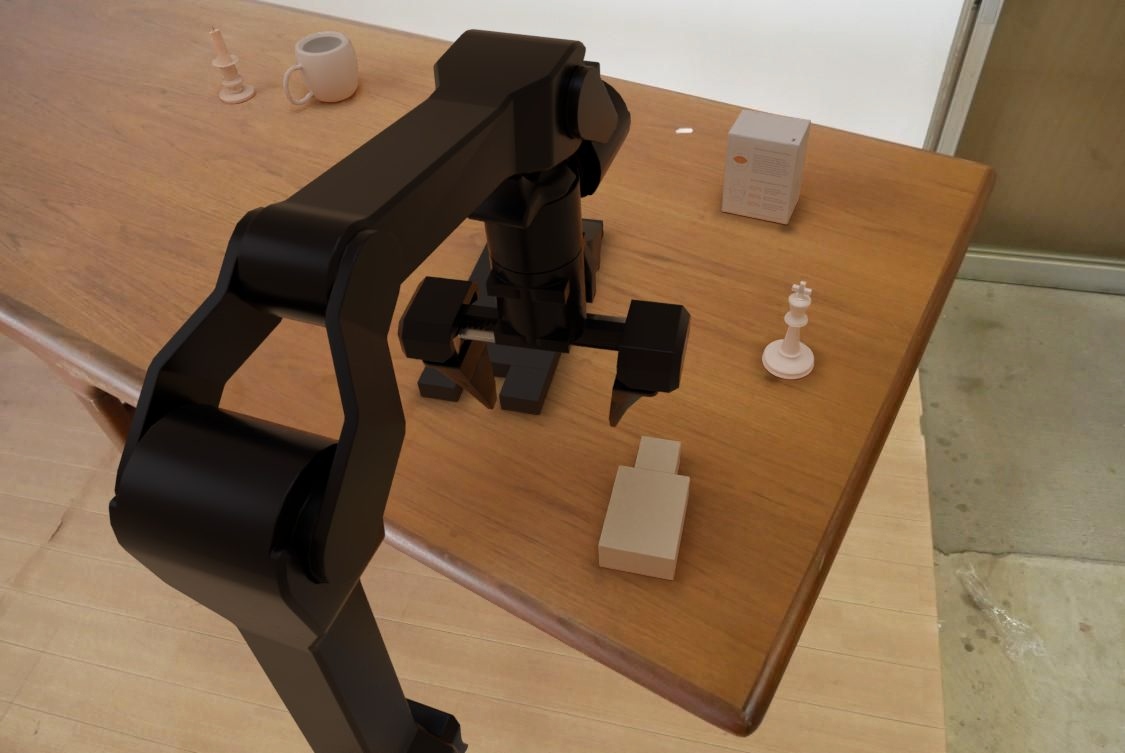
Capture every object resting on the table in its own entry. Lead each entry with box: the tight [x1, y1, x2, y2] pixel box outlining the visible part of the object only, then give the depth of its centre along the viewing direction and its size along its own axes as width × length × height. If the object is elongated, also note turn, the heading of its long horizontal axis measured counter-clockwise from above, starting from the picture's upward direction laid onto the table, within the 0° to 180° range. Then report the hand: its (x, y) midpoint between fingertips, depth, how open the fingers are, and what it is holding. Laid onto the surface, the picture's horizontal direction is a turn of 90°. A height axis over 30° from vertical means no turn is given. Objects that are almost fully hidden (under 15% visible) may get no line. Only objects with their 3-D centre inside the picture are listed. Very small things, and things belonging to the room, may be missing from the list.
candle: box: [209, 26, 256, 105], centre depth 122 cm, size 5×5×10 cm
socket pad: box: [417, 217, 604, 416], centre depth 89 cm, size 28×12×2 cm, turn 166°
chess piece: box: [761, 280, 815, 380], centre depth 78 cm, size 5×5×10 cm
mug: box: [282, 30, 360, 106], centre depth 120 cm, size 12×8×8 cm
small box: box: [721, 108, 812, 225], centre depth 95 cm, size 8×6×10 cm
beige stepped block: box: [597, 435, 691, 581], centre depth 70 cm, size 12×6×3 cm, turn 166°
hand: (552, 413), depth 62 cm, fingers open, 9 cm apart
